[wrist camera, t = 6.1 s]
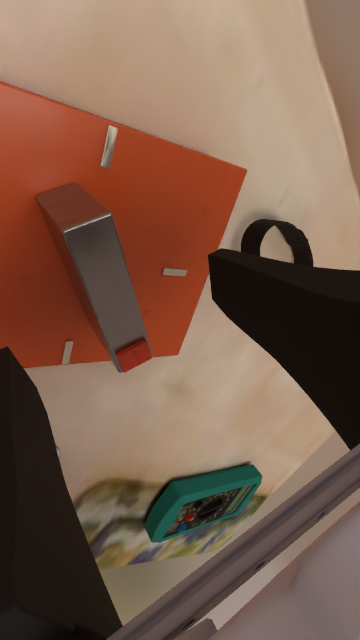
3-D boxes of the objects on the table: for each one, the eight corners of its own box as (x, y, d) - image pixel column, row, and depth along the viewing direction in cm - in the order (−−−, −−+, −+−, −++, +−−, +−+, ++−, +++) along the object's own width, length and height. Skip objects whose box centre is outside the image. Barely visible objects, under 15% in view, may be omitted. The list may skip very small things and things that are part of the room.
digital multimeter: (165, 478, 35) (179, 504, 33) (253, 460, 45) (268, 479, 43) (136, 524, 38) (148, 551, 36) (225, 497, 48) (239, 517, 46)
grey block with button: (34, 195, 12) (63, 233, 10) (76, 181, 13) (115, 214, 10) (91, 326, 17) (122, 378, 14) (121, 312, 17) (156, 359, 14)
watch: (217, 254, 22) (253, 279, 20) (263, 193, 22) (307, 211, 19) (268, 299, 28) (302, 323, 25) (307, 251, 27) (345, 271, 25)
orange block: (212, 156, 18) (250, 170, 16) (156, 328, 23) (179, 357, 21) (-142, 30, 10) (-160, 24, 8) (-117, 336, 15) (-125, 383, 13)
